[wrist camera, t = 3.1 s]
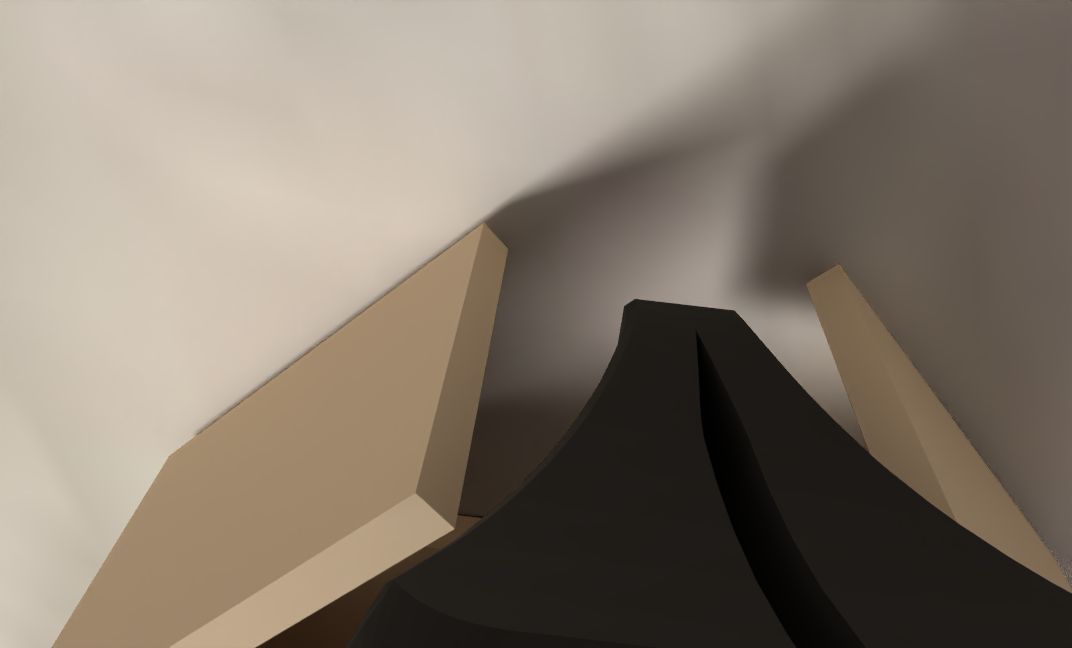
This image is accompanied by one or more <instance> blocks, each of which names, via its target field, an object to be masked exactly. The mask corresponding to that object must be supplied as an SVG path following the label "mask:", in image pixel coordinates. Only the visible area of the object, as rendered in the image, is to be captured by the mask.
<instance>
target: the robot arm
mask: <svg viewBox="0 0 1072 648" xmlns="http://www.w3.org/2000/svg"><path fill="white" fill-rule="evenodd" d="M346 648H1072V593H1070V592H1068V591H1067V590H1065V589H1063V588H1061V587H1059V586H1058V585H1056V584H1054V583H1052V582H1050V581H1049V580H1047V579H1045V578H1044V577H1042V576H1040V575H1039V574H1037V573H1035V572H1034V571H1032V570H1030V569H1029V568H1027V567H1025V566H1024V565H1022V564H1020V563H1019V562H1017V561H1015V560H1014V559H1012V558H1010V557H1009V556H1007V555H1006V554H1004V553H1003V552H1001V551H1000V550H998V549H997V548H995V547H994V546H992V545H991V544H989V543H987V542H986V541H984V540H983V539H981V538H980V537H978V536H977V535H975V534H974V533H972V532H971V531H969V530H968V529H966V528H965V527H963V526H962V525H960V524H959V523H957V522H956V521H955V520H953V519H952V518H950V517H949V516H948V515H946V514H945V513H943V512H942V511H941V510H939V509H938V508H936V507H935V506H934V505H932V504H931V503H930V502H928V501H927V500H926V499H925V498H923V497H922V496H921V495H920V494H918V493H917V492H916V491H914V490H913V489H912V488H911V487H909V486H908V485H907V484H906V483H904V482H903V481H902V480H901V479H899V478H898V477H897V476H895V475H894V474H893V473H892V472H890V471H889V470H888V469H887V468H886V467H884V466H883V465H882V464H881V463H880V462H879V461H877V460H876V459H875V458H874V457H873V456H872V455H871V454H869V453H868V452H867V451H866V450H865V449H864V448H863V447H862V446H861V445H860V444H859V443H858V442H857V441H855V440H854V439H853V438H852V437H851V436H850V435H849V434H848V433H847V432H846V431H845V430H844V429H843V428H842V427H841V426H840V425H838V424H837V423H836V422H835V421H834V420H833V419H832V418H831V417H830V416H829V415H828V414H827V413H826V412H825V411H824V410H823V409H822V408H821V407H820V406H819V405H818V404H817V402H816V401H815V400H814V399H813V398H812V397H811V396H810V395H809V394H808V393H807V392H806V391H805V390H804V389H803V388H802V386H801V385H800V384H799V383H798V382H797V381H796V380H795V379H794V378H793V377H792V376H791V374H790V373H789V372H788V371H787V370H786V369H785V368H784V367H783V365H782V364H781V363H780V362H779V361H778V360H777V359H776V357H775V356H774V355H773V354H772V353H771V352H770V350H769V349H768V348H767V347H766V346H765V345H764V343H763V342H762V341H761V340H760V339H759V338H758V336H757V335H756V334H755V333H754V332H753V331H752V329H751V328H750V327H749V326H748V325H747V324H746V322H745V321H744V320H743V319H742V318H741V317H740V316H739V315H738V314H737V313H736V312H735V311H734V310H725V309H716V308H708V307H699V306H690V305H682V304H673V303H665V302H656V301H647V300H639V299H635V300H633V301H631V302H630V303H628V304H627V305H625V306H624V311H623V317H622V323H621V329H620V335H619V341H618V345H617V348H616V351H615V353H614V355H613V357H612V359H611V361H610V363H609V365H608V367H607V369H606V371H605V373H604V375H603V377H602V379H601V381H600V383H599V385H598V386H597V388H596V390H595V391H594V393H593V394H592V396H591V397H590V399H589V401H588V402H587V404H586V405H585V407H584V408H583V410H582V412H581V413H580V415H579V416H578V418H577V419H576V421H575V422H574V423H573V425H572V426H571V427H570V429H569V430H568V432H567V433H566V434H565V435H564V437H563V438H562V439H561V441H560V442H559V443H558V444H557V445H556V447H555V448H554V449H553V450H552V451H551V453H550V454H549V455H548V456H547V457H546V458H545V460H544V461H543V462H542V463H541V464H540V465H539V466H538V467H537V468H536V469H535V470H534V471H533V472H532V473H531V474H530V475H529V476H528V477H527V479H526V480H525V481H524V482H523V483H522V484H521V485H520V486H519V487H518V488H517V489H516V490H515V491H514V492H512V493H511V494H510V495H509V496H508V497H507V498H506V499H505V500H504V501H503V502H502V503H500V504H499V505H498V506H497V507H496V508H494V509H493V510H492V511H491V512H489V513H488V514H487V515H486V516H484V517H483V518H482V519H481V520H479V521H478V522H477V523H476V524H474V525H473V526H472V527H471V528H469V529H468V530H467V531H466V532H464V533H463V534H462V535H461V536H459V537H458V538H457V539H455V540H454V541H452V542H451V543H450V544H448V545H447V546H445V547H444V548H442V549H441V550H439V551H438V552H436V553H434V554H433V555H431V556H430V557H428V558H426V559H425V560H423V561H421V562H420V563H418V564H417V565H415V566H413V567H412V568H410V569H409V570H407V571H405V572H404V573H402V574H401V575H399V576H397V577H396V578H394V579H392V580H390V581H389V582H387V583H385V585H384V586H383V588H382V589H381V591H380V592H379V594H378V595H377V597H376V598H375V600H374V602H373V603H372V605H371V606H370V608H369V610H368V611H367V613H366V614H365V616H364V617H363V619H362V621H361V622H360V624H359V626H358V627H357V629H356V631H355V633H354V634H353V636H352V638H351V640H350V641H349V643H348V645H347V646H346Z"/></svg>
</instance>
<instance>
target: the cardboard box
mask: <svg viewBox="0 0 1072 648" xmlns="http://www.w3.org/2000/svg"><path fill="white" fill-rule="evenodd" d="M481 519H482V518H477V517H468V516H460V515H457V520H456V525H455V529H454V530H452V531H450V532H449V533H447V534H445V535H444V536H442V537H440V538H438V539H437V540H435V541H433V542H432V543H430V544H428V545H427V546H425V547H423V548H422V549H420V550H418V551H417V552H415V553H413V554H412V555H410V556H408V557H407V558H405V559H403V560H402V561H400V562H398V563H397V564H395V565H393V566H391V567H390V568H388V569H386V570H385V571H383V572H381V573H380V574H378V575H376V576H375V577H373V578H371V579H370V580H368V581H366V582H365V583H363V584H361V585H360V586H358V587H356V588H355V589H353V590H351V591H349V592H348V593H346V594H344V595H343V596H341V597H339V598H338V599H336V600H334V601H333V602H331V603H329V604H328V605H326V606H324V607H323V608H321V609H319V610H318V611H316V612H314V613H313V614H311V615H309V616H308V617H306V618H304V619H302V620H301V621H299V622H297V623H296V624H294V625H292V626H291V627H289V628H287V629H286V630H284V631H282V632H281V633H279V634H277V635H276V636H274V637H272V638H271V639H269V640H267V641H266V642H264V643H262V644H260V645H259V646H257V647H255V648H346V646H347V645H348V643H349V641H350V640H351V638H352V636H353V634H354V633H355V631H356V629H357V627H358V626H359V624H360V622H361V621H362V619H363V617H364V616H365V614H366V613H367V611H368V610H369V608H370V606H371V605H372V603H373V602H374V600H375V598H376V597H377V595H378V594H379V592H380V591H381V589H382V588H383V586H384V585H385V583H387V582H389V581H390V580H392V579H394V578H396V577H397V576H399V575H401V574H402V573H404V572H405V571H407V570H409V569H410V568H412V567H413V566H415V565H417V564H418V563H420V562H421V561H423V560H425V559H426V558H428V557H430V556H431V555H433V554H434V553H436V552H438V551H439V550H441V549H442V548H444V547H445V546H447V545H448V544H450V543H451V542H452V541H454V540H455V539H457V538H458V537H459V536H461V535H462V534H463V533H464V532H466V531H467V530H468V529H469V528H471V527H472V526H473V525H474V524H476V523H477V522H478V521H479V520H481Z"/></svg>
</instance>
